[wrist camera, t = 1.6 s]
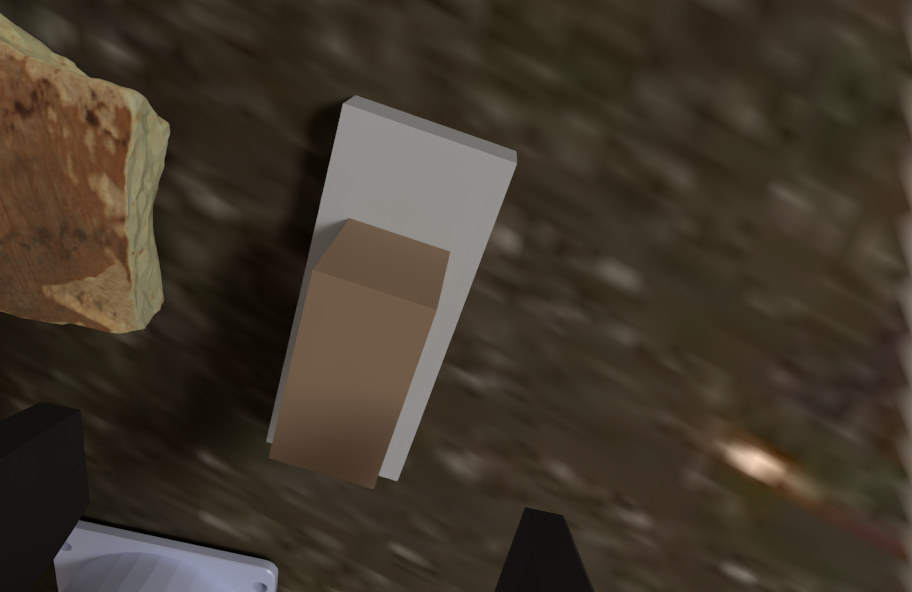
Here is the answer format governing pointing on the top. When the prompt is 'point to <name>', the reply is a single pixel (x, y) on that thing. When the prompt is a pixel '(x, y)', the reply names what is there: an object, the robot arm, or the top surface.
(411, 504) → the top surface
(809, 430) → the top surface
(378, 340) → the grout float
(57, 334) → the top surface
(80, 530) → the robot arm
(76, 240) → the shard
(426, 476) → the top surface
